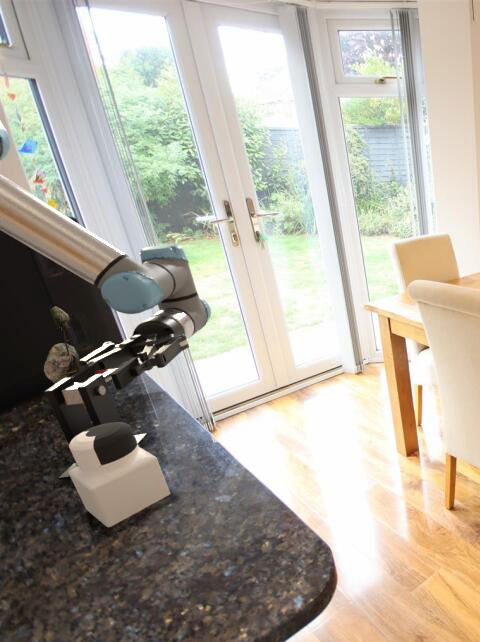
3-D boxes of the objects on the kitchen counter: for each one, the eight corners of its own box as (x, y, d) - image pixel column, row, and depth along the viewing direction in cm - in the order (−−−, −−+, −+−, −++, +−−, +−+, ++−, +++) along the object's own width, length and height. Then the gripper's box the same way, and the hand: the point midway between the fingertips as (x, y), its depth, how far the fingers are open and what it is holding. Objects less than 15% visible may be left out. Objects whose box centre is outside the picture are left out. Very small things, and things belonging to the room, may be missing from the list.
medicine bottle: (149, 483, 66) (119, 411, 62) (173, 499, 63) (144, 424, 58) (88, 514, 61) (50, 437, 56) (111, 534, 57) (73, 454, 53)
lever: (102, 379, 76) (97, 365, 75) (136, 375, 77) (131, 362, 76) (55, 407, 66) (49, 391, 65) (95, 402, 67) (90, 386, 66)
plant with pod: (104, 388, 96) (66, 296, 88) (111, 407, 88) (70, 307, 81) (51, 403, 90) (6, 306, 83) (54, 424, 83) (5, 319, 75)
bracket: (101, 446, 76) (68, 371, 71) (149, 439, 77) (120, 365, 72) (61, 485, 67) (20, 402, 62) (116, 477, 68) (80, 394, 63)
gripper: (218, 345, 95) (168, 397, 74) (118, 355, 91) (35, 413, 70) (208, 310, 92) (153, 355, 71) (105, 319, 89) (14, 369, 68)
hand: (95, 384), depth 71 cm, fingers closed on lever, 5 cm apart
